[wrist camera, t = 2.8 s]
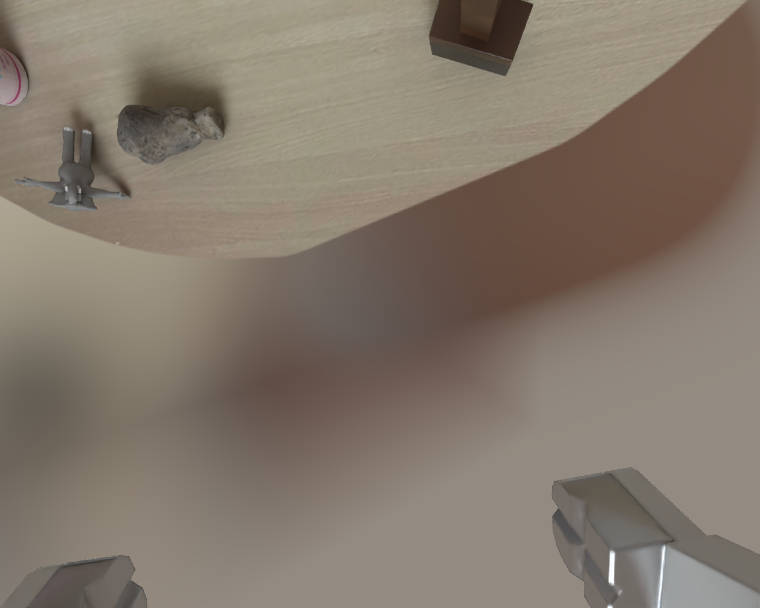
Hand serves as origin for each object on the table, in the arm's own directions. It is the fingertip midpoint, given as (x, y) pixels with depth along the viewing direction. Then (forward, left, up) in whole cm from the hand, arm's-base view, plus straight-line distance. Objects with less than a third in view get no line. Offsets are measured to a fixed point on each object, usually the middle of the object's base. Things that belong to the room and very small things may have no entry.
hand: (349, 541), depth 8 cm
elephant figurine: (-6, -40, -36) cm, 54 cm away
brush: (-19, +2, -35) cm, 40 cm away
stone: (-11, -28, -36) cm, 47 cm away
